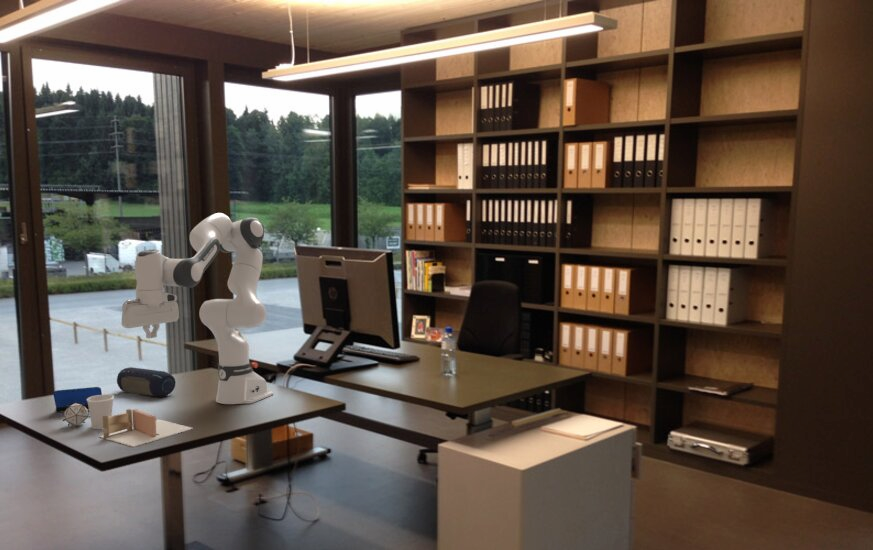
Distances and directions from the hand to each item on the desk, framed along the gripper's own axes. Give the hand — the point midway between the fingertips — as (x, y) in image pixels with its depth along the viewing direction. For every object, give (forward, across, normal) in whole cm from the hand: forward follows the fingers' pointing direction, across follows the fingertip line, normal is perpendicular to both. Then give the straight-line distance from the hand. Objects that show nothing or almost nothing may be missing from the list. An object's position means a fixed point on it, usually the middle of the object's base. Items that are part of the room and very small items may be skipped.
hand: (151, 337), depth 246 cm
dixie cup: (+29, -14, +9) cm, 34 cm away
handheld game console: (+30, -5, +37) cm, 47 cm away
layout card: (+29, -10, -10) cm, 32 cm away
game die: (+29, -18, +17) cm, 38 cm away
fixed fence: (+29, -16, -4) cm, 33 cm away
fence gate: (+29, -11, -10) cm, 32 cm away
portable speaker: (+29, +21, +35) cm, 50 cm away
